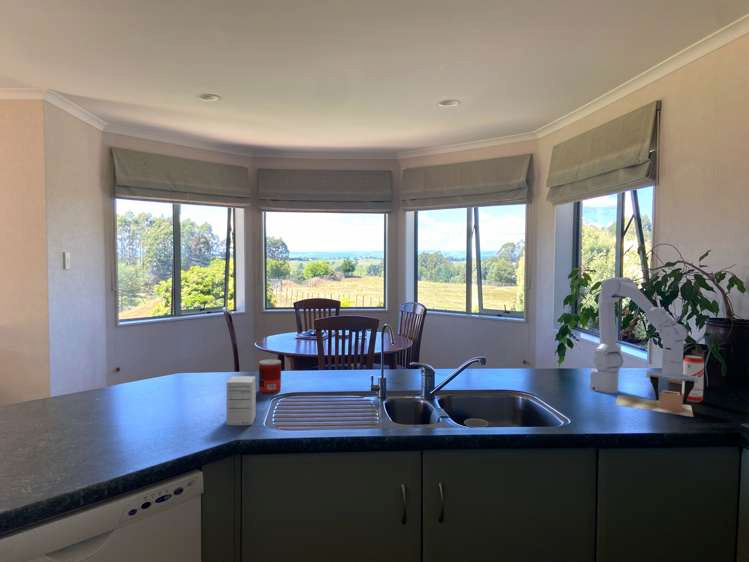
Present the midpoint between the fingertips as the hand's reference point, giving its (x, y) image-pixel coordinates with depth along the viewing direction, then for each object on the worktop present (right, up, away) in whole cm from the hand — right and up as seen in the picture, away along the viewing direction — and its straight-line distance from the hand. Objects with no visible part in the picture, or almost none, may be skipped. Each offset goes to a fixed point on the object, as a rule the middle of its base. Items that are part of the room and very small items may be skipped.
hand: (670, 401), depth 155 cm
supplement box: (-138, -2, -17) cm, 139 cm away
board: (-4, -3, +3) cm, 6 cm away
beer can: (+16, -3, +14) cm, 21 cm away
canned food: (-137, 0, +15) cm, 138 cm away
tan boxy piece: (0, -2, 0) cm, 2 cm away
